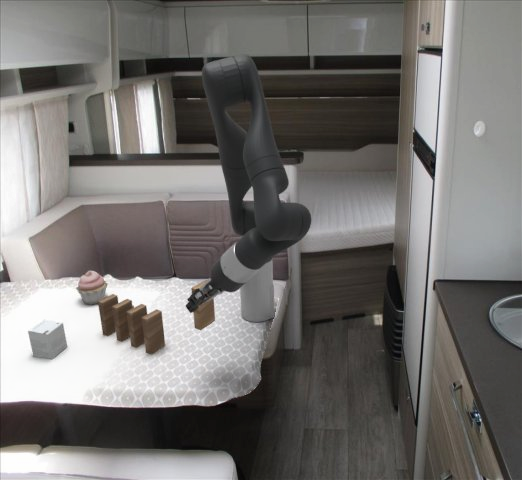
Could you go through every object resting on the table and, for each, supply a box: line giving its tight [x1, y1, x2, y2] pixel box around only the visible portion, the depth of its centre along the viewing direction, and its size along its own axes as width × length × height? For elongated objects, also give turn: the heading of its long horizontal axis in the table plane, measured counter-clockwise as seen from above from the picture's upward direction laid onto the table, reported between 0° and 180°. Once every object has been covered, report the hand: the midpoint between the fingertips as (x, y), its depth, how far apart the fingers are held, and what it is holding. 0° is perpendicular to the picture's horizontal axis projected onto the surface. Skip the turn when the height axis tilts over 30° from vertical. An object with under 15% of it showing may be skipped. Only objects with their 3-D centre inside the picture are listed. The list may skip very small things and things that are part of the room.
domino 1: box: [97, 293, 119, 337], centre depth 138 cm, size 2×5×10 cm, turn 145°
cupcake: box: [75, 270, 109, 305], centre depth 156 cm, size 9×9×10 cm
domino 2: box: [112, 298, 133, 343], centre depth 135 cm, size 2×5×10 cm, turn 145°
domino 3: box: [127, 303, 148, 349], centre depth 132 cm, size 2×5×10 cm, turn 145°
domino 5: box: [191, 279, 216, 331], centre depth 115 cm, size 2×5×10 cm, turn 145°
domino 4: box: [142, 309, 166, 356], centre depth 129 cm, size 2×5×10 cm, turn 145°
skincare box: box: [27, 319, 68, 360], centre depth 130 cm, size 6×6×7 cm
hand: (197, 304), depth 116 cm, fingers closed on domino 5, 5 cm apart
